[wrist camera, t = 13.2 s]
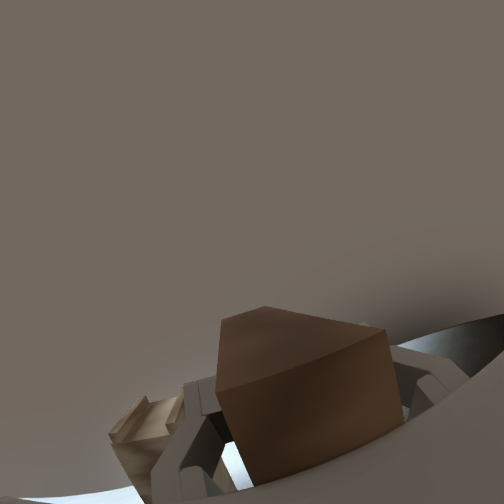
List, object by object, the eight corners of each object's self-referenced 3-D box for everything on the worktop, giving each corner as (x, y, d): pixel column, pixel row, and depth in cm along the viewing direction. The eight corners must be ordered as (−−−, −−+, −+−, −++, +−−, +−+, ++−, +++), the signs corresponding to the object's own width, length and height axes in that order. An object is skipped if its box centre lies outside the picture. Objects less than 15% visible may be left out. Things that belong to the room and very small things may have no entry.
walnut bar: (269, 517, 5) (215, 392, 5) (235, 362, 22) (221, 319, 23) (409, 458, 5) (385, 329, 6) (278, 348, 23) (265, 306, 23)
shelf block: (205, 579, 21) (105, 434, 23) (207, 528, 33) (137, 397, 36) (262, 571, 22) (177, 421, 25) (253, 519, 34) (190, 384, 37)
